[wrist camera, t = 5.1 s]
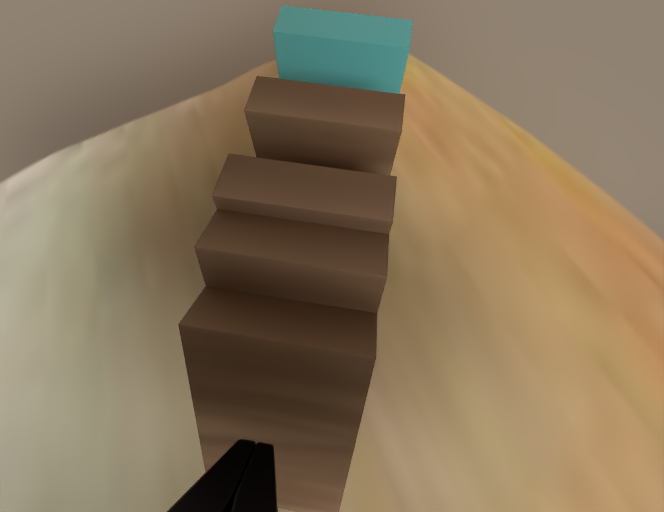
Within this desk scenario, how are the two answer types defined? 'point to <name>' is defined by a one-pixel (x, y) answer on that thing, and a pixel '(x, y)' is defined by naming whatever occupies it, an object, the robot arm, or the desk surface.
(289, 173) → the domino
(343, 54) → the domino
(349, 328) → the domino
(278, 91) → the domino
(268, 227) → the domino
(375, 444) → the desk surface
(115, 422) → the desk surface
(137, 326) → the desk surface
